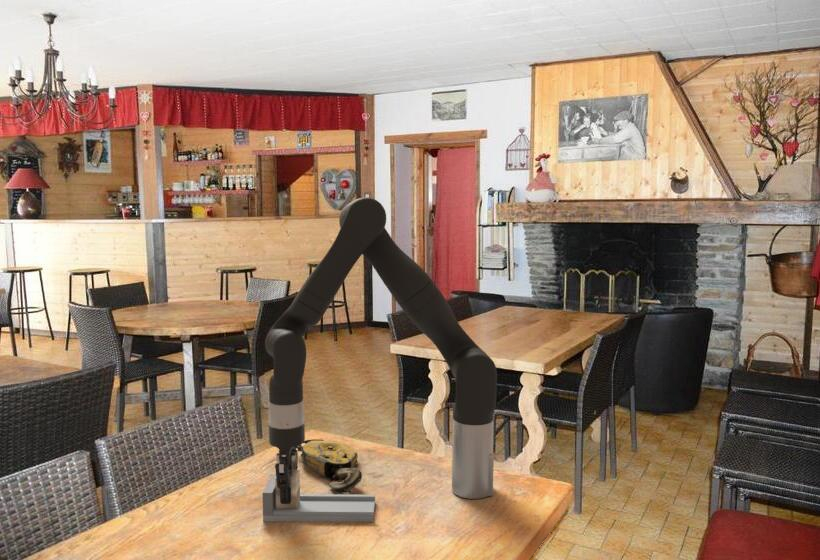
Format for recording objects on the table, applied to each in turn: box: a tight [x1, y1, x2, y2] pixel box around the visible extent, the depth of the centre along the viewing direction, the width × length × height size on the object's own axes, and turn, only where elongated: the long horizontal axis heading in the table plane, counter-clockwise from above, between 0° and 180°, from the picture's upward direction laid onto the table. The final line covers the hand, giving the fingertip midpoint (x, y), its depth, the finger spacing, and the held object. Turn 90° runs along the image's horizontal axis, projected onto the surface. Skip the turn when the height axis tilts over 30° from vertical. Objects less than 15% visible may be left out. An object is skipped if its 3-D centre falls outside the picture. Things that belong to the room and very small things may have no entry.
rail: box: [262, 474, 376, 523], centre depth 146 cm, size 23×9×6 cm, turn 90°
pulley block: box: [298, 439, 363, 494], centre depth 168 cm, size 14×6×30 cm
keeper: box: [275, 469, 301, 509], centre depth 146 cm, size 4×4×7 cm
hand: (288, 497), depth 146 cm, fingers closed on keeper, 4 cm apart
